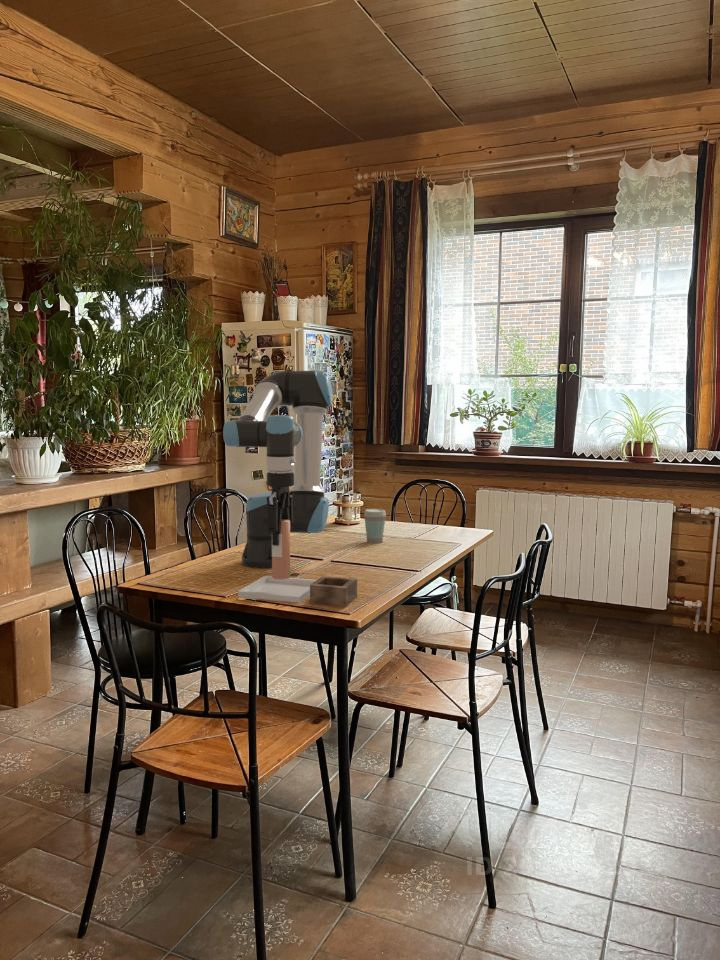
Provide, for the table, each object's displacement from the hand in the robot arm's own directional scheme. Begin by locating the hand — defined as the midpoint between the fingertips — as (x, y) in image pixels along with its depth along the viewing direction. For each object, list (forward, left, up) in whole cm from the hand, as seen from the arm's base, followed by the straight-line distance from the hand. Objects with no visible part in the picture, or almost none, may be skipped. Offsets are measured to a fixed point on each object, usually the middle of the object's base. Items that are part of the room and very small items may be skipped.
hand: (281, 554), depth 206 cm
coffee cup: (+5, +78, -12) cm, 79 cm away
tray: (0, 0, -11) cm, 11 cm away
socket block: (+17, -4, -11) cm, 21 cm away
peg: (0, 0, -7) cm, 7 cm away
